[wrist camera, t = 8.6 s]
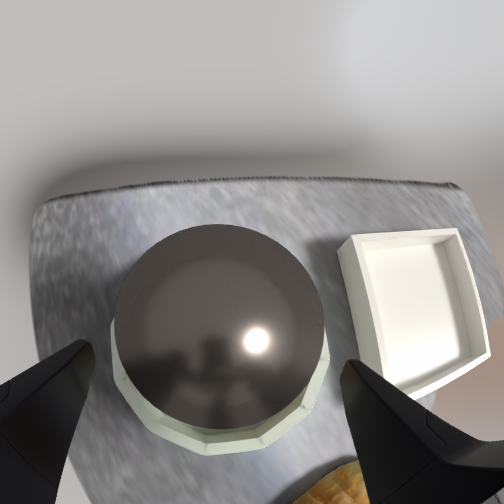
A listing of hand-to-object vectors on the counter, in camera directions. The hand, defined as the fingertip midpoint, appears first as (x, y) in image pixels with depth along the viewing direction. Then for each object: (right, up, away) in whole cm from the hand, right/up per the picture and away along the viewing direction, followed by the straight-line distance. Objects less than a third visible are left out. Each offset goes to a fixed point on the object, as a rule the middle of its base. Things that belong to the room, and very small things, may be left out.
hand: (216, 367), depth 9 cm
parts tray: (+16, -2, +13) cm, 20 cm away
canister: (-1, -3, +9) cm, 10 cm away
